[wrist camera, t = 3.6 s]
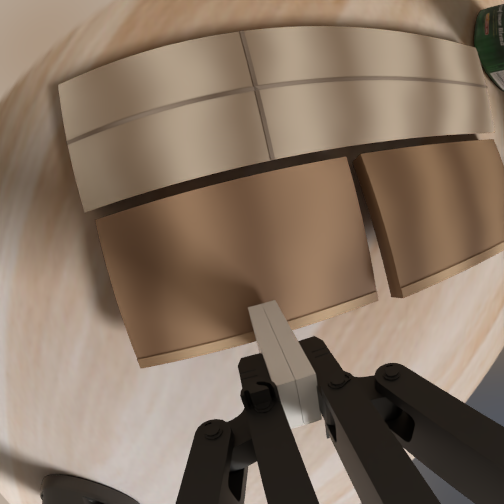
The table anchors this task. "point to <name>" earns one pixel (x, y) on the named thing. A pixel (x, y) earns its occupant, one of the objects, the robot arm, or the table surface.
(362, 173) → the plank
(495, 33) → the coffee jar
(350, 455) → the robot arm
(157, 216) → the plank
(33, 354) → the table surface
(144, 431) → the table surface
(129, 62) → the laid row
